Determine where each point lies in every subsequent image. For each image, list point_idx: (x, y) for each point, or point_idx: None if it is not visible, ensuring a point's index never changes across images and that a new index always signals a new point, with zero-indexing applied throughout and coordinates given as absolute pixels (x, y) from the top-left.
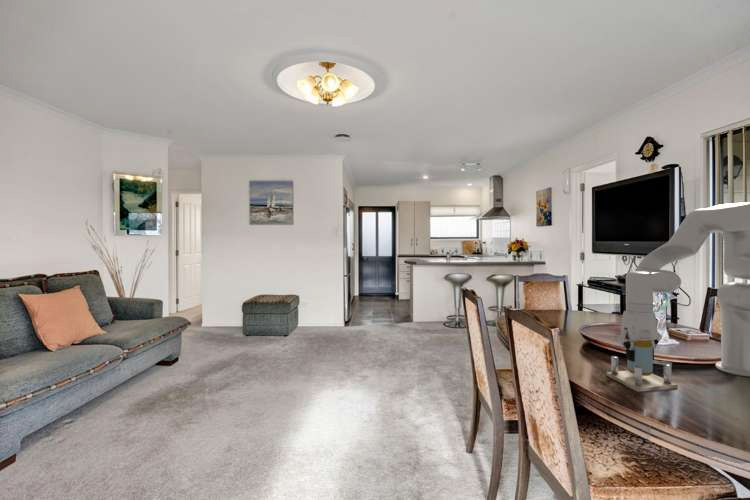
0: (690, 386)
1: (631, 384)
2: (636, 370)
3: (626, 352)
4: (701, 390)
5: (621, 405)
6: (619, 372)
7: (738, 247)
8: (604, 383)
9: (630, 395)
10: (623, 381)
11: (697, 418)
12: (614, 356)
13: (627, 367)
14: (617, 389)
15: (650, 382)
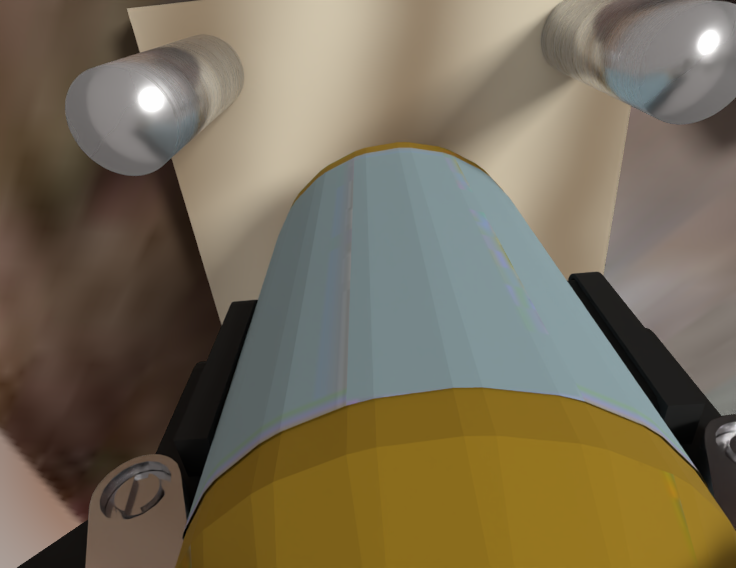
0: (707, 328)
1: None
2: None
3: (177, 425)
4: (700, 387)
5: (58, 498)
6: (285, 35)
7: None
8: (52, 213)
9: (169, 410)
10: (205, 264)
11: None
12: (131, 89)
13: (290, 210)
14: (119, 328)
15: None
